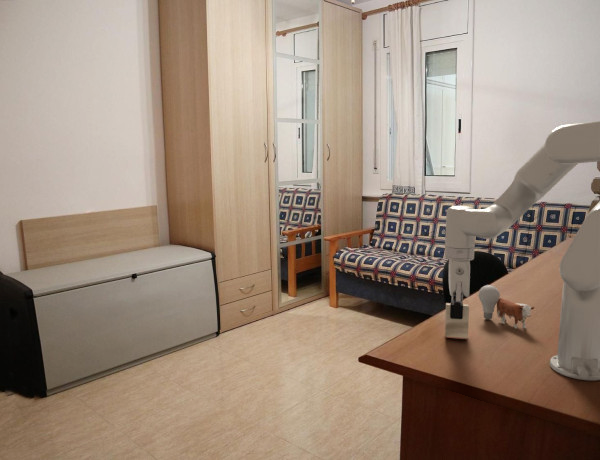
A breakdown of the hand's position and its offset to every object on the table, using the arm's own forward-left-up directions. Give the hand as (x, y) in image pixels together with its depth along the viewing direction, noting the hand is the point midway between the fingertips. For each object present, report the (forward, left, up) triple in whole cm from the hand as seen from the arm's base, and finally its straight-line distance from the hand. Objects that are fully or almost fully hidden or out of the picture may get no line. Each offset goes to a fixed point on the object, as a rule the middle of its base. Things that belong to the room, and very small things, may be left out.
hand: (456, 317), depth 139 cm
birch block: (+3, 0, -7) cm, 7 cm away
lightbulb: (+21, -10, -8) cm, 24 cm away
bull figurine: (+17, -17, -8) cm, 25 cm away
